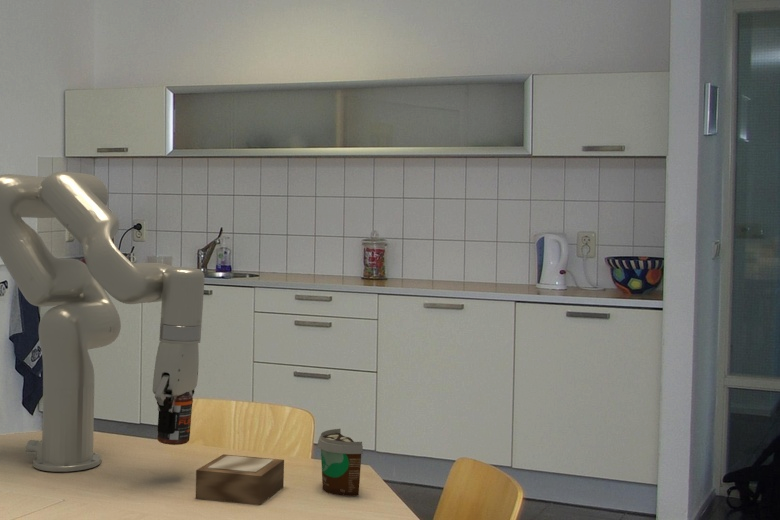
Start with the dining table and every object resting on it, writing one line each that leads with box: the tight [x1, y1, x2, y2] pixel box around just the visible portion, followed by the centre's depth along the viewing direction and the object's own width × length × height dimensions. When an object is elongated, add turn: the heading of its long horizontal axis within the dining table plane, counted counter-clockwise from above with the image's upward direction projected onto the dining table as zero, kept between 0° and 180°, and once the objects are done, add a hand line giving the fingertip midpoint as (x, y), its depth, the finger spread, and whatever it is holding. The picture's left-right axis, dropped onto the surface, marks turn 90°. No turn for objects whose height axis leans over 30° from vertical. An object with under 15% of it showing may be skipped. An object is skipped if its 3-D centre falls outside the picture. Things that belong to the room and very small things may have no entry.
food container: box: [316, 428, 364, 497], centre depth 171 cm, size 12×6×10 cm, turn 23°
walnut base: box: [195, 454, 285, 506], centre depth 168 cm, size 12×12×5 cm
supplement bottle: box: [157, 391, 193, 446], centre depth 175 cm, size 6×6×11 cm
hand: (174, 427), depth 175 cm, fingers closed on supplement bottle, 6 cm apart
